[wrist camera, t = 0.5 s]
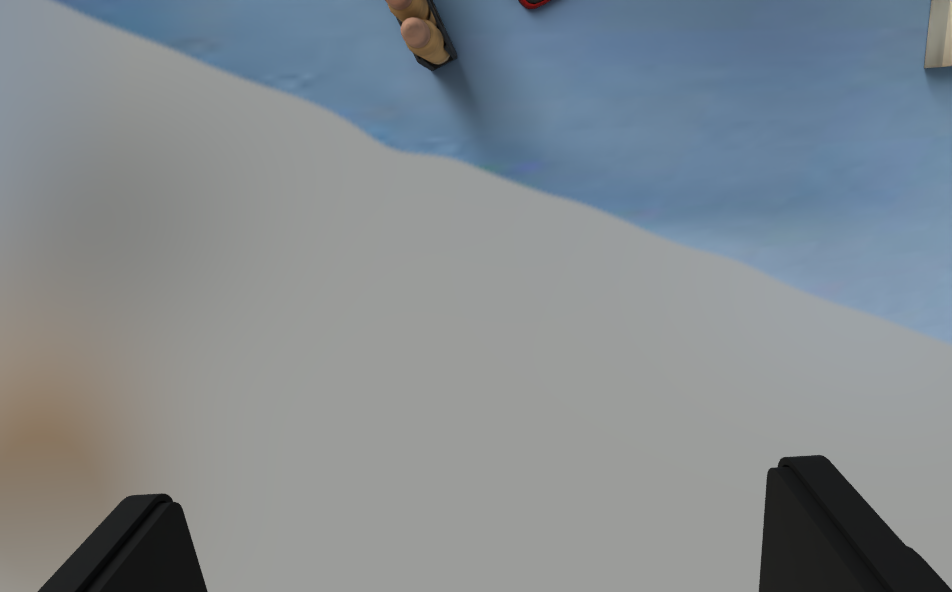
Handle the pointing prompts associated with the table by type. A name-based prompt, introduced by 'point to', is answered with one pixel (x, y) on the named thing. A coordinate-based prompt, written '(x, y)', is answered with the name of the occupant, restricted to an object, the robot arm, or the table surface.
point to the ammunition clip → (423, 32)
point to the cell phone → (533, 3)
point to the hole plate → (939, 35)
